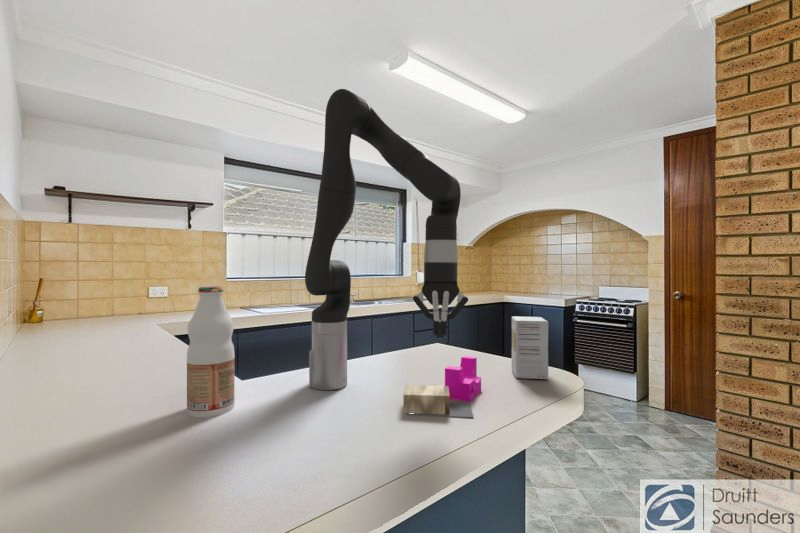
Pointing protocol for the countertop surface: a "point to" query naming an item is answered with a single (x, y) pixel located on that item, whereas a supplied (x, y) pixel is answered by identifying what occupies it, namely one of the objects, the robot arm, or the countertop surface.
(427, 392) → the ash block
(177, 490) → the countertop surface
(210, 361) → the fruit juice
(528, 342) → the supplement box
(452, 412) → the mat
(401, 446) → the countertop surface
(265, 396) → the countertop surface
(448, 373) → the toy block
